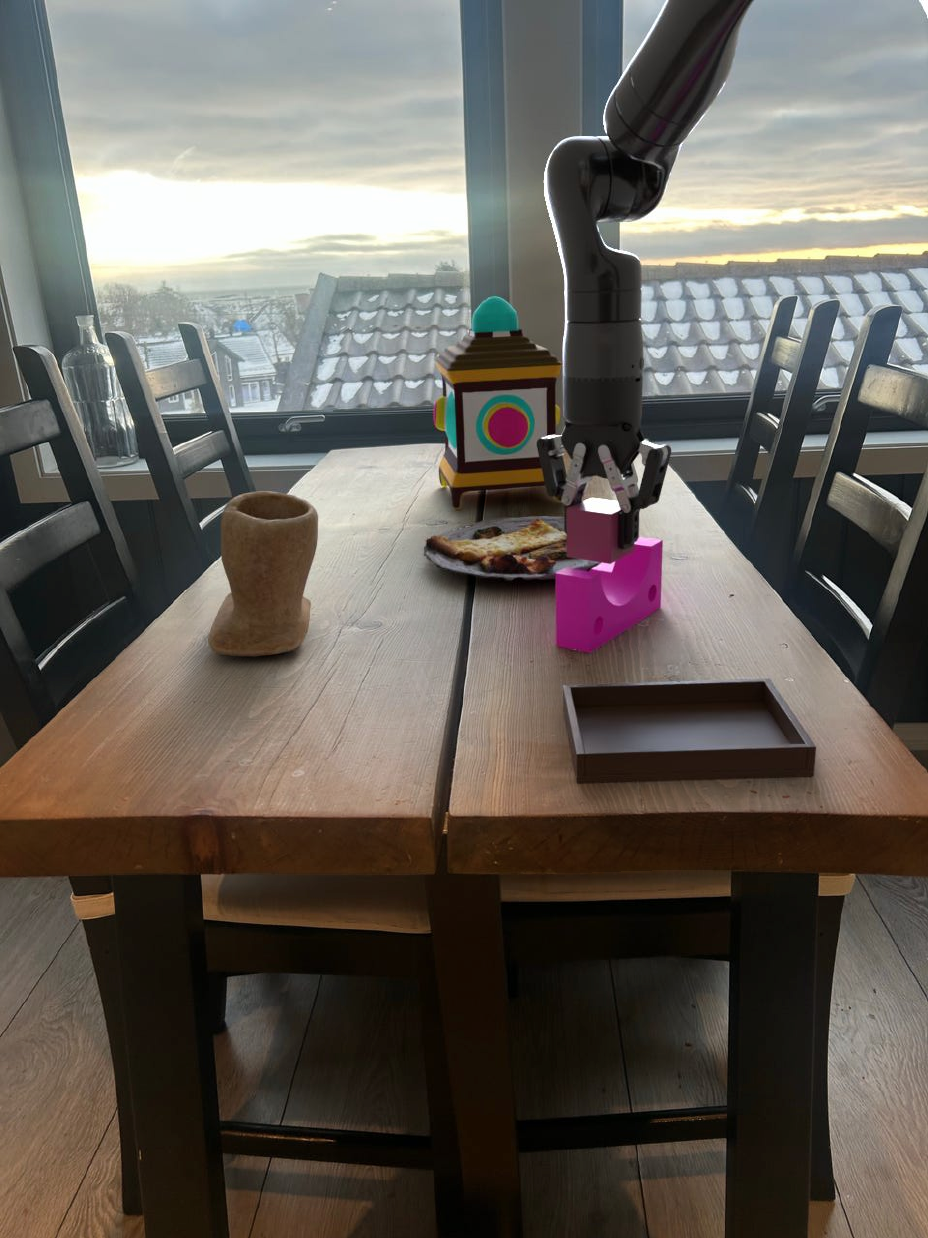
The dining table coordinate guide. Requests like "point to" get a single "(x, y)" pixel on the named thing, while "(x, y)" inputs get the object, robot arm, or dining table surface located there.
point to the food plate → (505, 549)
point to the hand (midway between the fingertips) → (601, 542)
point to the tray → (684, 731)
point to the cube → (594, 531)
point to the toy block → (608, 597)
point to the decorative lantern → (495, 405)
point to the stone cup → (265, 574)
